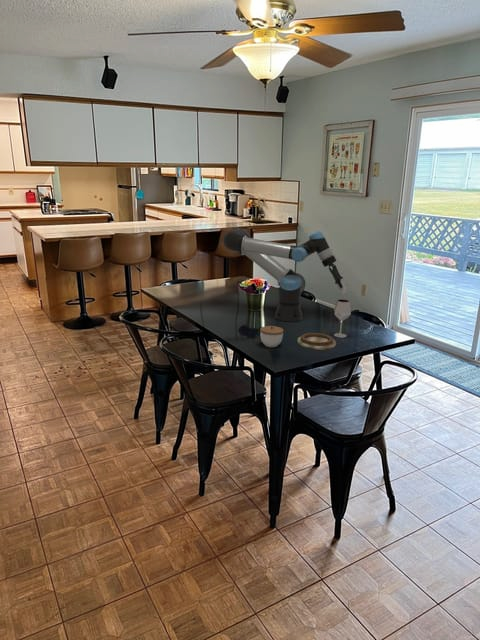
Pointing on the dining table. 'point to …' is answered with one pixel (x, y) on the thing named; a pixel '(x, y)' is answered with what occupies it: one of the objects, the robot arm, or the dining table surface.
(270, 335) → the lidded jar
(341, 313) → the wineglass
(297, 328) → the dining table surface
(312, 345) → the ring tray
